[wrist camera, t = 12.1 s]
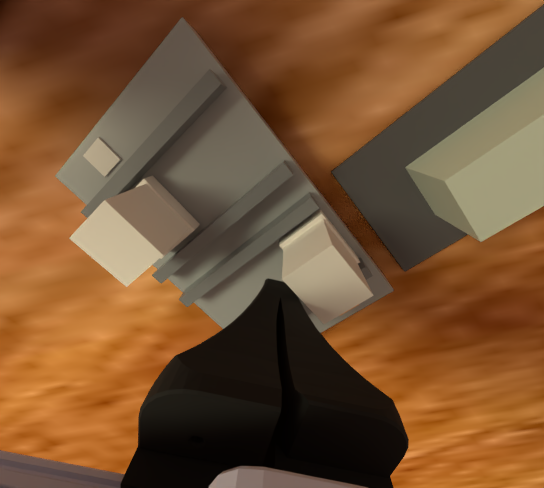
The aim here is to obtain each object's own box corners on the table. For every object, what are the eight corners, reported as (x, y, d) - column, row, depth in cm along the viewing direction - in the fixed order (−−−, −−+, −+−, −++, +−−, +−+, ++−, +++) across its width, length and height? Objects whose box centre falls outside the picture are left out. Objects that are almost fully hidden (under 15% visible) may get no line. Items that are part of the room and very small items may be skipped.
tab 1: (121, 208, 13) (62, 235, 9) (152, 175, 12) (101, 193, 9) (168, 252, 14) (129, 291, 10) (199, 224, 13) (169, 257, 10)
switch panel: (78, 171, 14) (36, 179, 12) (195, 30, 11) (170, 5, 9) (265, 347, 18) (262, 379, 16) (384, 275, 15) (401, 302, 13)
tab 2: (279, 238, 13) (276, 276, 10) (319, 208, 12) (331, 238, 9) (316, 280, 14) (324, 328, 10) (356, 254, 13) (378, 298, 10)
